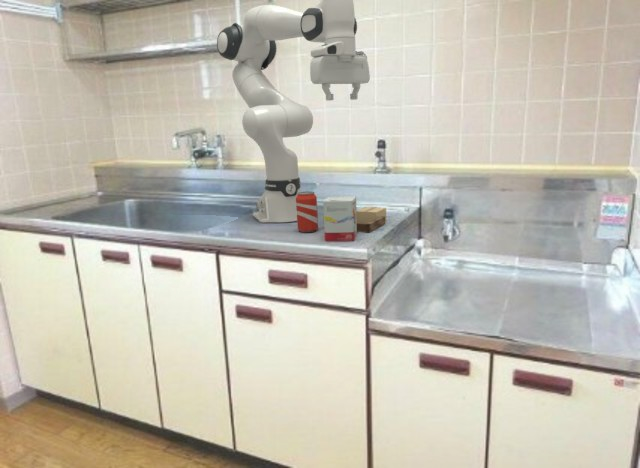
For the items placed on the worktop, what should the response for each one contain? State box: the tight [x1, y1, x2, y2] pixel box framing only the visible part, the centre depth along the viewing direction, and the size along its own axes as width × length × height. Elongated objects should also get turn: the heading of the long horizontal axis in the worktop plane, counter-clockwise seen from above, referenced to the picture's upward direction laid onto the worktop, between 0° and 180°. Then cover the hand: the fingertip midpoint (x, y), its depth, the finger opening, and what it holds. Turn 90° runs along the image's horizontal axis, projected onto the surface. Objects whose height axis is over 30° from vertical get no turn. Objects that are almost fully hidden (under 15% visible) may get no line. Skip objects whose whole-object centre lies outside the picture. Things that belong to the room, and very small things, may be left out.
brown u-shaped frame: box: [357, 216, 386, 234], centre depth 156 cm, size 12×12×2 cm
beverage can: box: [296, 190, 319, 233], centre depth 154 cm, size 6×6×12 cm
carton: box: [356, 206, 387, 223], centre depth 163 cm, size 8×8×4 cm
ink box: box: [322, 195, 358, 242], centre depth 143 cm, size 9×9×12 cm
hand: (342, 100), depth 147 cm, fingers open, 8 cm apart
